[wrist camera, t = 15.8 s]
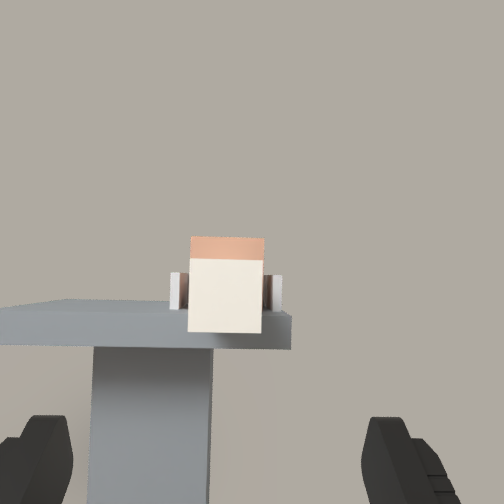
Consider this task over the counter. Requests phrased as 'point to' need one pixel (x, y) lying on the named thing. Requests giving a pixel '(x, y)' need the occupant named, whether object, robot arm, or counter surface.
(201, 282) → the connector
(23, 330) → the stand
